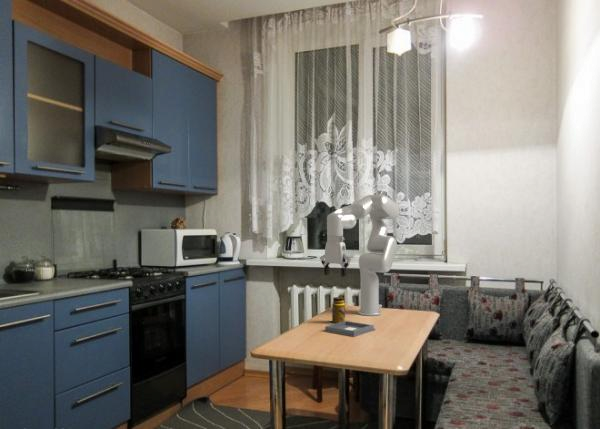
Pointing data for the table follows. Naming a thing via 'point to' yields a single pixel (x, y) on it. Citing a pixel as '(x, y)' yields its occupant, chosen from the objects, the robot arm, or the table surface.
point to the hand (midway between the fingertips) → (335, 275)
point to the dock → (349, 328)
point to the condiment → (338, 310)
